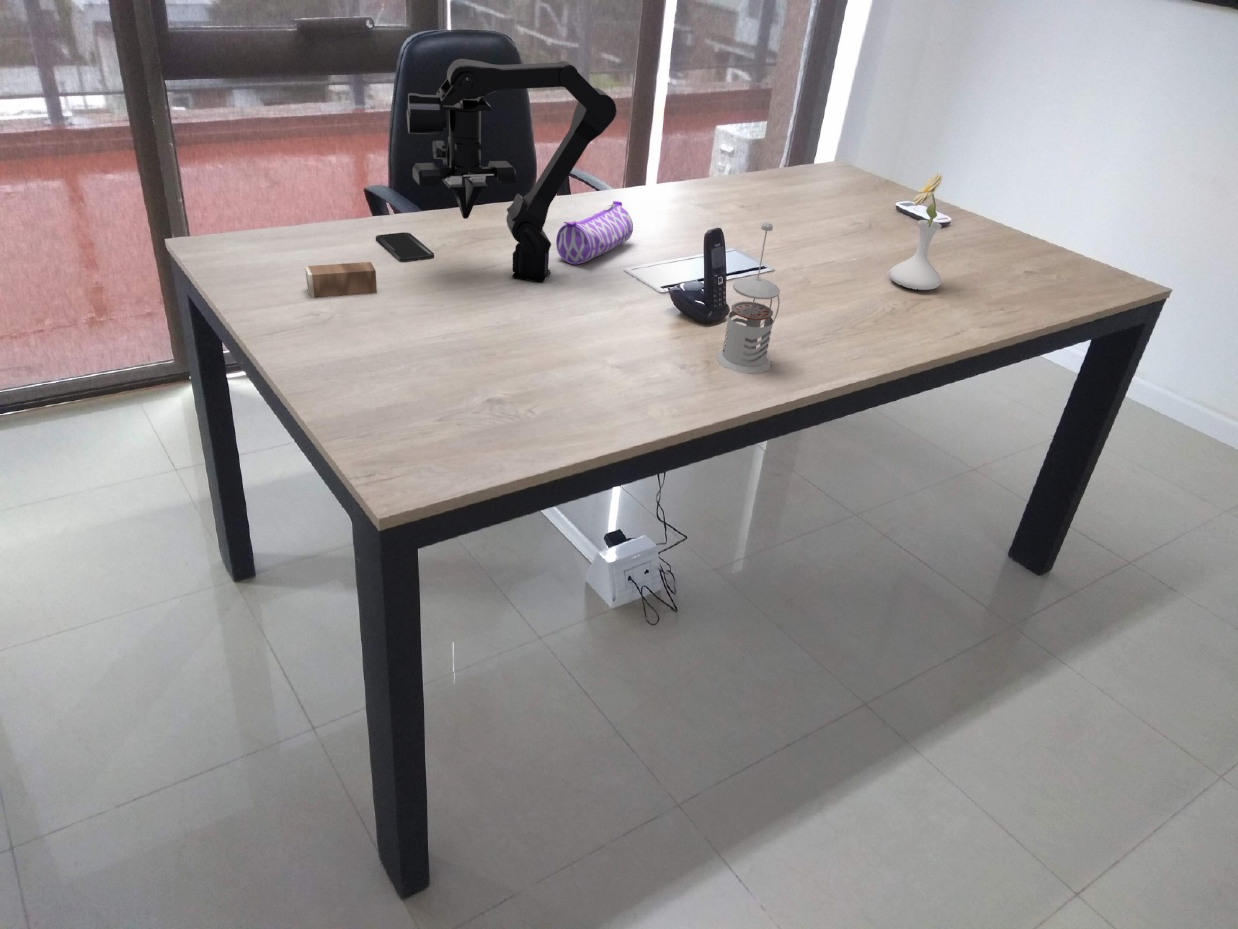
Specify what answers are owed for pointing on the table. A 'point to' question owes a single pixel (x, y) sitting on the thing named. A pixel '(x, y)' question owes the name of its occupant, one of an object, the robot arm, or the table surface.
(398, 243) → the phone
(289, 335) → the table surface
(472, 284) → the table surface
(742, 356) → the french press
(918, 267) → the flower in vase
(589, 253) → the pencil case
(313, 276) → the walnut block
